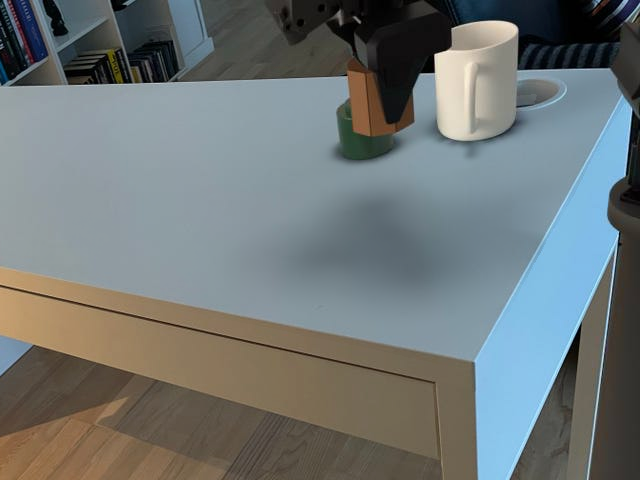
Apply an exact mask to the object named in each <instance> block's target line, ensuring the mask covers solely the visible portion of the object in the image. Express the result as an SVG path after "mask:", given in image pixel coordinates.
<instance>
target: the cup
mask: <svg viewBox="0 0 640 480" xmlns="http://www.w3.org/2000/svg"><path fill="white" fill-rule="evenodd" d="M518 56H519V28H518V26H517V25H516V24H515V23H512V22H510V21H505V20H482V21H475V22H470V23H465V24H460V25H458V26H455V27H452V47H451V48H450V49H448V50H447V51H444V52H441V53H437V54H434V79H435V80H434V81H435V105H436V123H437V129H438V131H439V132H440V134H441V135H442V136H444V137H446V138H448V139H450V140H454V141H460V142H461V141H462V142H473V141H480V140H486V139H490V138H493V137H496V136H499V135H501V134H503V133H505V132H507V131H508V130H509V129H510V128H511V127H512V125H513V124H514V123H515V120H516V116H517V94H518V93H517V90H518V62H519V61H518V60H519V59H518V58H519V57H518Z"/></svg>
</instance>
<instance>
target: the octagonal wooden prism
mask: <svg viewBox="0 0 640 480" xmlns="http://www.w3.org/2000/svg"><path fill="white" fill-rule="evenodd" d="M346 74H347V84H348V93H349V95H348V96H349V98H350V104H351V114H352V123H353V131H354V132H355V133H359V134H363V135H367V136H372V137H373V136H379V135H386V134H392V133H393V134H397V133H399V132H401V131H403V130H404V129H406V128H408V127H409V126H411V125H413V124H414V123H415V104H414V103H415V102H414V90H413V91H412V93H411V95H410V98H409V100H408V103H407V105H406V107H405V110H404V112H403V115H402V117H401V119H400V121H399V122H397V123H394V124H390V125H388V124H387V123H386V121H385V118H384V115H383V111H382V108H381V104H380V100H379V96H378V92H377V88H376V85H375V81H374V77H373V73H372V71H371V70H368V69H367V68H364V67H363V66H361V65H360V64H359V63H358V62H357V60H356V59H355V58H353V57H352V58H350V59H349V60H347V61H346Z"/></svg>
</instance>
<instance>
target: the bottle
mask: <svg viewBox="0 0 640 480" xmlns="http://www.w3.org/2000/svg"><path fill="white" fill-rule="evenodd" d="M335 115H336V122H337V132H338V139H339V147H340V154H341V155H342V156H343V157H345V158H347V159H351V160H369V159H372V158H376V157H380V156H382V155H384V154H386V153H387V152H390V150H391V149H392V148H393V146H394V133H392V134H386V135H379V136H373V137H372V136H367V135H363V134H359V133H355V132H354V131H353V123H352V114H351V104H350V97H348V98H347V99H346V100H345V101H344V102H343V103H341V104H340V105H339V106H338V107H337V109H336V112H335Z"/></svg>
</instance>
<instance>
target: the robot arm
mask: <svg viewBox="0 0 640 480" xmlns="http://www.w3.org/2000/svg"><path fill="white" fill-rule="evenodd" d="M403 1H404V0H264V2H263V4H264V6H265V8H266V10H267V11H268V13H269V15H270V17H271V18H272V20H273V22H274V24H275V25H276V27H277V29H278V31H279V32H280V35H281V36H282V37H283V39H284V40H285V42H286V43H287V45H288V46H291V47H292V46H293V47H294V46H296V45H298V44H300V43H302V42H304V40H306V39H307V37H308V35H309V34H310V33H311V32H312V33H313V31H315V30H317V28H319V27H320V26H322V25H323V24H324V25H325V26H326V27H327V28H328V29H329V30H330V32H331V33H332V34H333V35H335V36H337V37H338V38H340V39H341V40H342V41H344V42H346V43H347V46H348V49H349V52H350V54H351V57H352V58H355V59H356V60H357V62H358V63H359V64H360V65H361V66H363V67H364V68H367V69H368V70H371V71H372V73H373V77H374V81H375V85H376V88H377V92H378V96H379V100H380V104H381V108H382V111H383V115H384V118H385V121H386V123H387V124H388V125H390V124H394V123H397V122H399V121H400V119H401V117H402V115H403V112H404V110H405V107H406V105H407V103H408V100H409V98H410V95H411V93H412V91H413V92H414V88H415V86H416V84H417V82H418V79H419V77H420V75H421V72H422V70H423V69H424V66H425V64H426V62H427V60H428V58H429V57H431V56H433V55H434V54H437V53H441V52H444V51H447V50H448V49H450V48H451V47H452V28H453V26H452V20H451V19H450V18H449V17H447V16H445V15H444V14H443V13H442V12H440V11H439V10H438V9H436V8H434V6H432V5H431V4H429V3H427V2H426V1H425V0H417V1H415V2H411V3H409V4H404V5H403ZM619 40H620V41H619V49H618V52H617V55H616V57H615V60H614V61H613V62H612V64H611V65H610V67H609V69H610V71H611V73H612V74H613V75H614V77H615V78H616V84H617V87H618V88H617V89H618V90H619V92H620V93H621V94H622V96H623V98H624V99H625V100H626V102H627V103H628V105H629V106H630V108H631V109H632V110H633V112H634V113H635V115H636V116H637V118H638V119H639V120H640V22H635V21H623V23H622V25H621V29H620V39H619ZM434 56H435V55H434ZM627 175H628V181H627V182H628V185H630V186H631V187H630V188H628V189H627V190H625V191H624V192H623V193H621V194H620V201H623V202H627V203H630V204H634V205H637V206H640V129H638V135H637V140H636V141H635V142H633V143H632V144H631V150H630V159H629V166H628V174H627Z"/></svg>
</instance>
